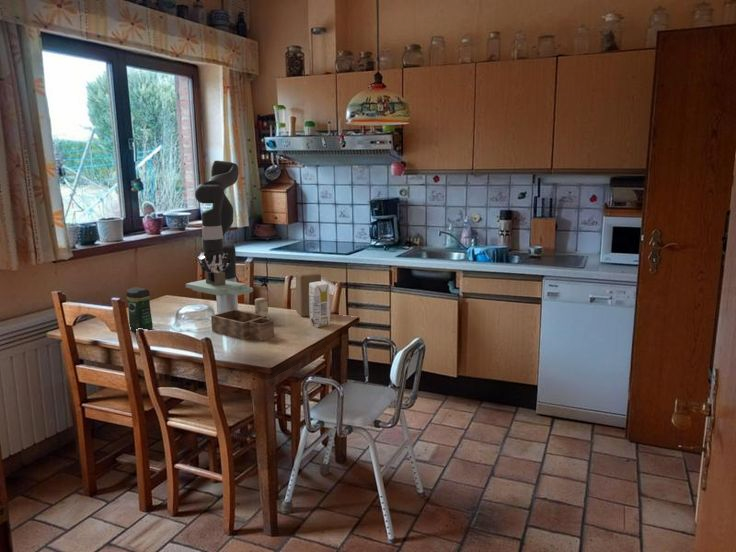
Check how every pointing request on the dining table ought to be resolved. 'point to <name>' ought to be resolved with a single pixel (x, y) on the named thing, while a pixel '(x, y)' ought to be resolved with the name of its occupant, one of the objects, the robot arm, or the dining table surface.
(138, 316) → the coffee jar
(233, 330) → the wooden tray
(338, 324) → the dining table surface
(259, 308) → the beige rectangular block
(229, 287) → the lid
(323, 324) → the juice carton
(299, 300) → the wooden block
